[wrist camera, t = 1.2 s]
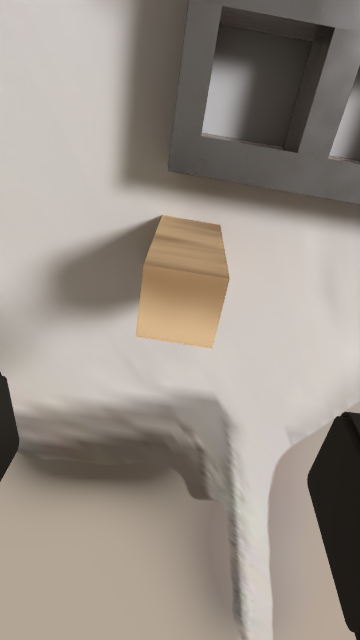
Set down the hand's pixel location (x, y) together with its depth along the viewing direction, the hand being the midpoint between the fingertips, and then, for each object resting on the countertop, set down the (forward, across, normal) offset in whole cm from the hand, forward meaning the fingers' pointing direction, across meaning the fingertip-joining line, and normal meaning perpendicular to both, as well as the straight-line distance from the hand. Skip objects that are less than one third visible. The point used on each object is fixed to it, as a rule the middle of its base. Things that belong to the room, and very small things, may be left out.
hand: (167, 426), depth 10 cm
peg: (+20, 0, +2) cm, 20 cm away
